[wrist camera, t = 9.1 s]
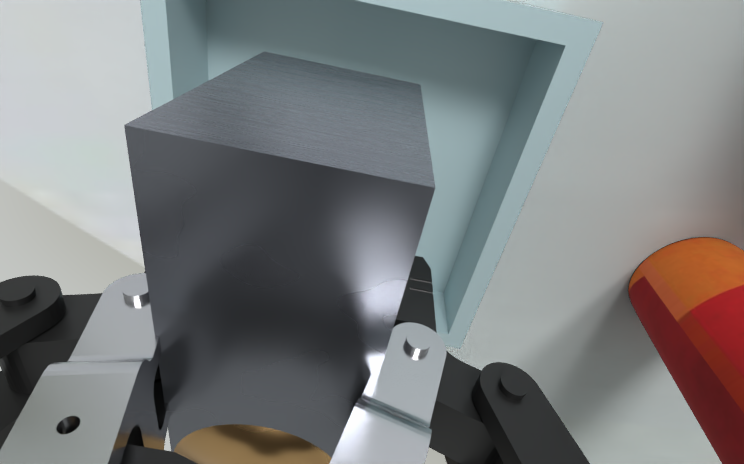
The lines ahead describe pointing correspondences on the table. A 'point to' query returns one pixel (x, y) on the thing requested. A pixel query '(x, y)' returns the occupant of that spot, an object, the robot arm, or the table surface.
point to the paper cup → (699, 331)
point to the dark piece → (277, 250)
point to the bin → (439, 92)
